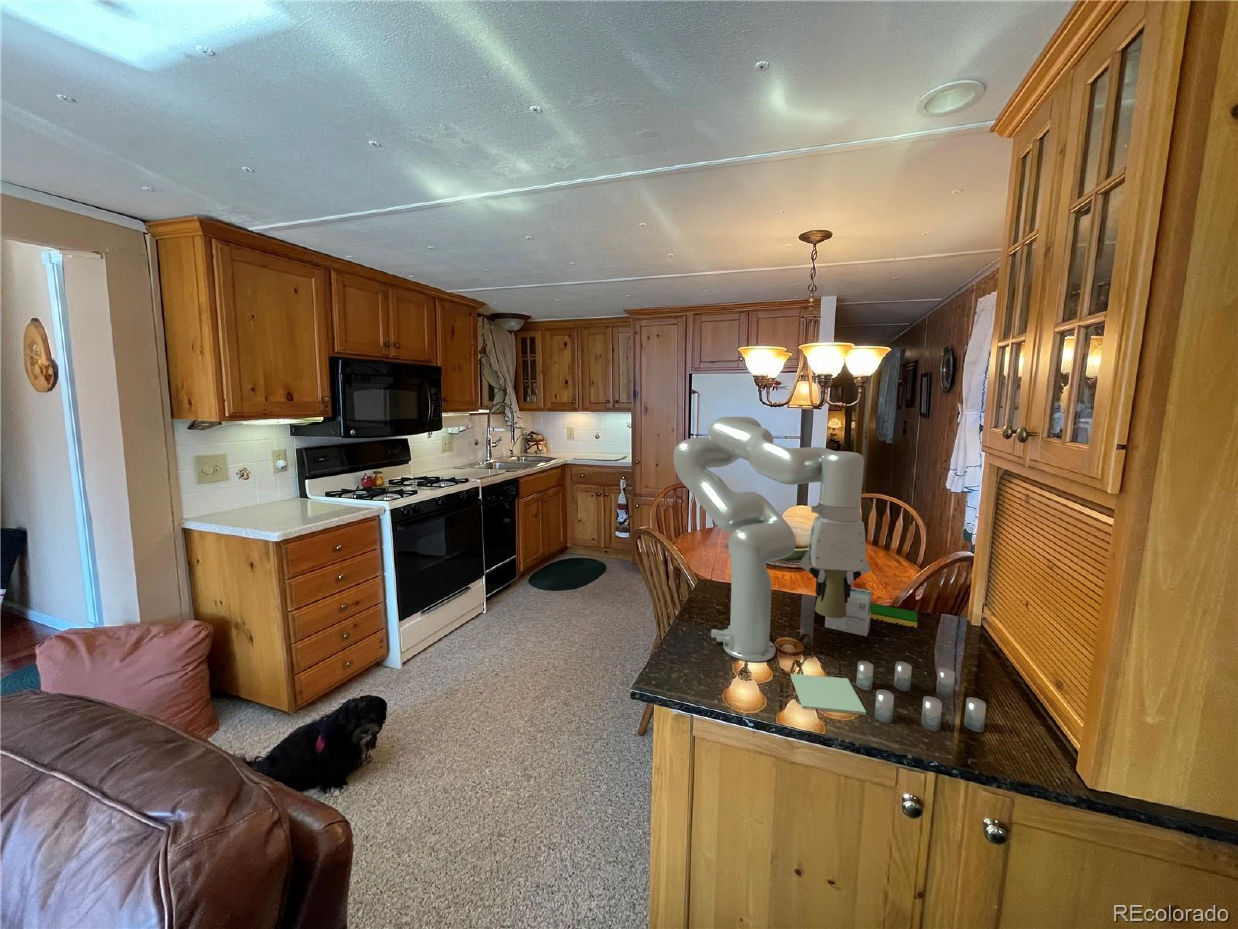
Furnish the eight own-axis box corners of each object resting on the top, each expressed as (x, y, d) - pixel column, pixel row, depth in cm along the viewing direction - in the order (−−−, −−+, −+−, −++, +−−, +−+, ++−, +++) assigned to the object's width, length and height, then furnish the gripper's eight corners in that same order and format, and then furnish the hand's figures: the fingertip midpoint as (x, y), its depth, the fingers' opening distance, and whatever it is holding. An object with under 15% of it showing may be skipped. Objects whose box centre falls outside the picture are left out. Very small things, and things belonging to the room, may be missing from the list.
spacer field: (879, 725, 92) (881, 700, 91) (853, 679, 108) (854, 658, 107) (990, 736, 89) (993, 711, 88) (946, 687, 105) (948, 665, 104)
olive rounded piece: (850, 619, 97) (854, 566, 95) (818, 616, 98) (822, 564, 96) (842, 607, 103) (846, 556, 101) (812, 604, 104) (815, 554, 102)
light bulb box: (869, 628, 133) (872, 590, 132) (867, 637, 127) (869, 598, 126) (828, 618, 139) (830, 582, 138) (823, 627, 133) (826, 590, 132)
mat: (802, 708, 97) (802, 706, 97) (790, 676, 109) (790, 673, 109) (866, 714, 95) (866, 712, 95) (847, 681, 107) (847, 678, 107)
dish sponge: (862, 609, 146) (863, 601, 146) (916, 619, 139) (917, 611, 139) (860, 618, 140) (861, 609, 140) (916, 629, 133) (917, 620, 133)
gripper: (799, 515, 95) (794, 604, 97) (890, 519, 93) (882, 610, 95) (792, 507, 102) (786, 590, 105) (875, 510, 100) (868, 595, 102)
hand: (832, 598), depth 100 cm, fingers closed on olive rounded piece, 3 cm apart
